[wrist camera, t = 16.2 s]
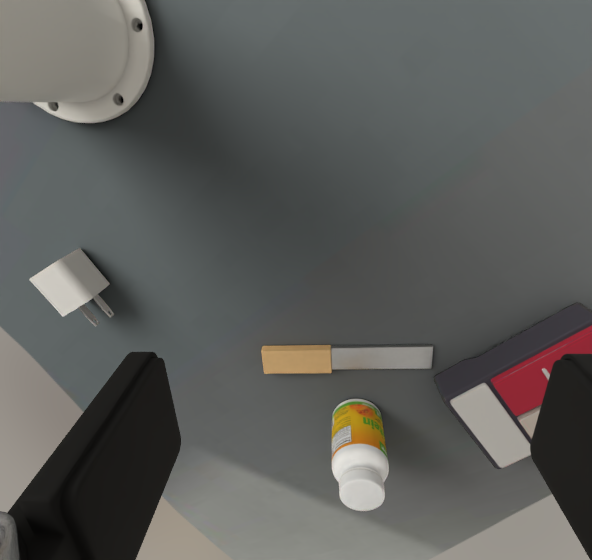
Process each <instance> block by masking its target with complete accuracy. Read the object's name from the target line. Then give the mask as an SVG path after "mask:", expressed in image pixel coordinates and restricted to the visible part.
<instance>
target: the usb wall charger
mask: <svg viewBox="0 0 592 560" xmlns="http://www.w3.org/2000/svg"><path fill="white" fill-rule="evenodd" d="M29 280H30V281H31V282H32V283H33V284H34V285H35V286H36V288H37V289H38V290H39V291H40V292H41V293H42V294H43V295H44V296H45V298H46V299H47V300H48V301H49V302H50V303H51V304H52V305H53V306H54V307H55V309H56V310H57V311H58V312H59V313H60V314H61V315H62V316H65V315H67V314H68V313H70V312H72V311H73V310H75V309H76V308H79V309H80V311H81V312H82V313H83V314H84V315H85V316H86V317H87V318H88V320H89V321H90V322H91V323H92V324H93V325H94V326H97V325H98V324H99V321H98V320H97V319H96V317H95V316H94V315H93V314H92V313H91V312H90V310H89V309H88V308H87V307H86V306H85V305H84V304H85V303H86V302H88V301H89V300H91V299H92V298H93V299H94V300H95V302H96V303H97V304H98V305H99V306H100V307H101V309H102V310H103V311H104V312H105V313H106V314H107V315H108V316H109V317H110V318H111V317H112V316H113V315H114V313H113V312H112V310H111V309H110V308H109V306H108V305H107V304H106V303H105V302H104V301H103V299H102V298H101V297H100V296H99V295H98V293H100V292H101V291H102V290H103V289H105V288H106V287H107V286H108V285H109V284H110V283H109V282H108V281H107V280H106V279H105V277H104V276H103V275H102V274H101V273H100V271H99V270H98V269H97V268H96V267H95V265H94V264H93V263H92V262H91V260H90V259H89V258H88V257H87V256H86V254H85V253H84V252H83V251H82V250H81V248H79V249H77V250H75V251H73V252H72V253H70V254H68V255H66V256H65V257H63V258H61V259H60V260H58V261H56V262H55V263H53V264H52V265H50V266H48V267H47V268H45V269H44V270H42V271H41V272H39V273H38V274H36V275H35V276H33V277H32V278H30V279H29ZM108 311H110V312H111V315H110V314H109V313H108ZM93 320H95V321H96V323H94V322H93Z"/></svg>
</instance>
